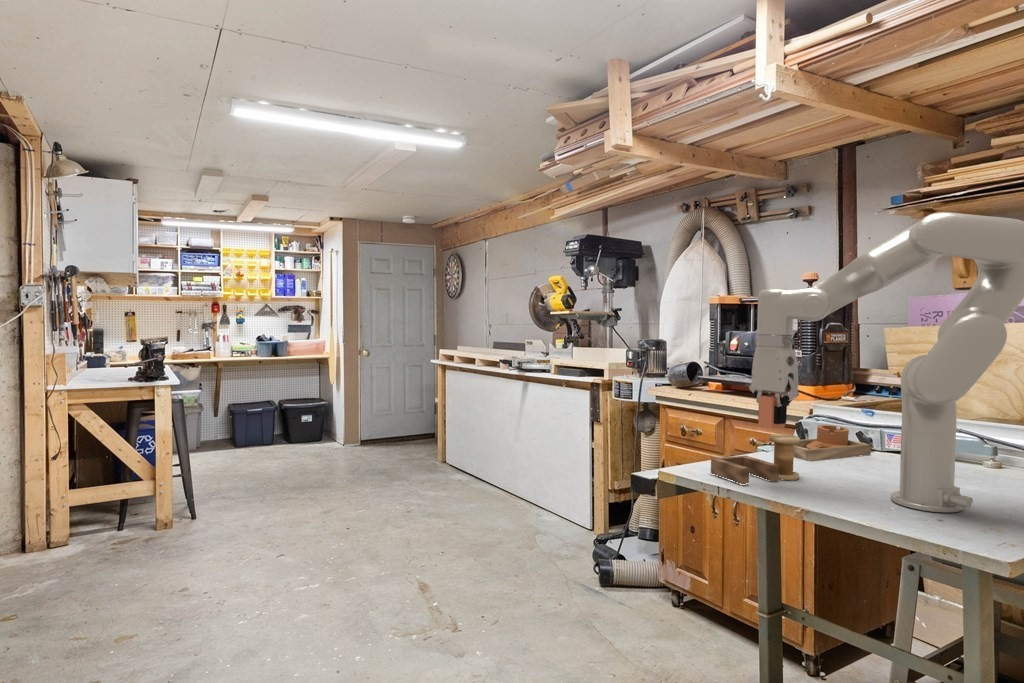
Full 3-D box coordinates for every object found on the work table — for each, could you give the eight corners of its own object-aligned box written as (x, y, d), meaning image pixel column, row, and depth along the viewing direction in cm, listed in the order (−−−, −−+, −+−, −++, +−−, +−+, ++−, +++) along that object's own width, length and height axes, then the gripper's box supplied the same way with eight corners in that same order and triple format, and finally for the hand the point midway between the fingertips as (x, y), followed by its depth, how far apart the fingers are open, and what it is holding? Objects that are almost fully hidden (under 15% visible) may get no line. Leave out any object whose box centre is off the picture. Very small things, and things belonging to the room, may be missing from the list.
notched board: (778, 481, 147) (778, 465, 147) (742, 485, 143) (742, 468, 143) (745, 470, 157) (745, 455, 157) (710, 474, 153) (711, 458, 153)
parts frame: (870, 455, 177) (870, 444, 177) (809, 461, 169) (809, 450, 169) (834, 446, 189) (834, 437, 189) (775, 452, 180) (775, 442, 180)
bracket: (820, 445, 189) (822, 423, 189) (850, 450, 184) (852, 428, 183) (801, 456, 176) (803, 433, 175) (833, 463, 171) (835, 438, 170)
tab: (785, 427, 140) (785, 397, 140) (771, 428, 139) (772, 397, 138) (771, 424, 144) (772, 395, 144) (758, 425, 142) (759, 395, 142)
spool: (805, 479, 149) (806, 438, 149) (783, 481, 147) (784, 440, 146) (783, 472, 156) (784, 433, 156) (761, 474, 153) (762, 435, 153)
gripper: (816, 344, 134) (814, 427, 135) (759, 341, 150) (757, 415, 150) (790, 344, 131) (788, 429, 132) (735, 341, 147) (733, 417, 148)
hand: (772, 421), depth 141 cm, fingers closed on tab, 4 cm apart
